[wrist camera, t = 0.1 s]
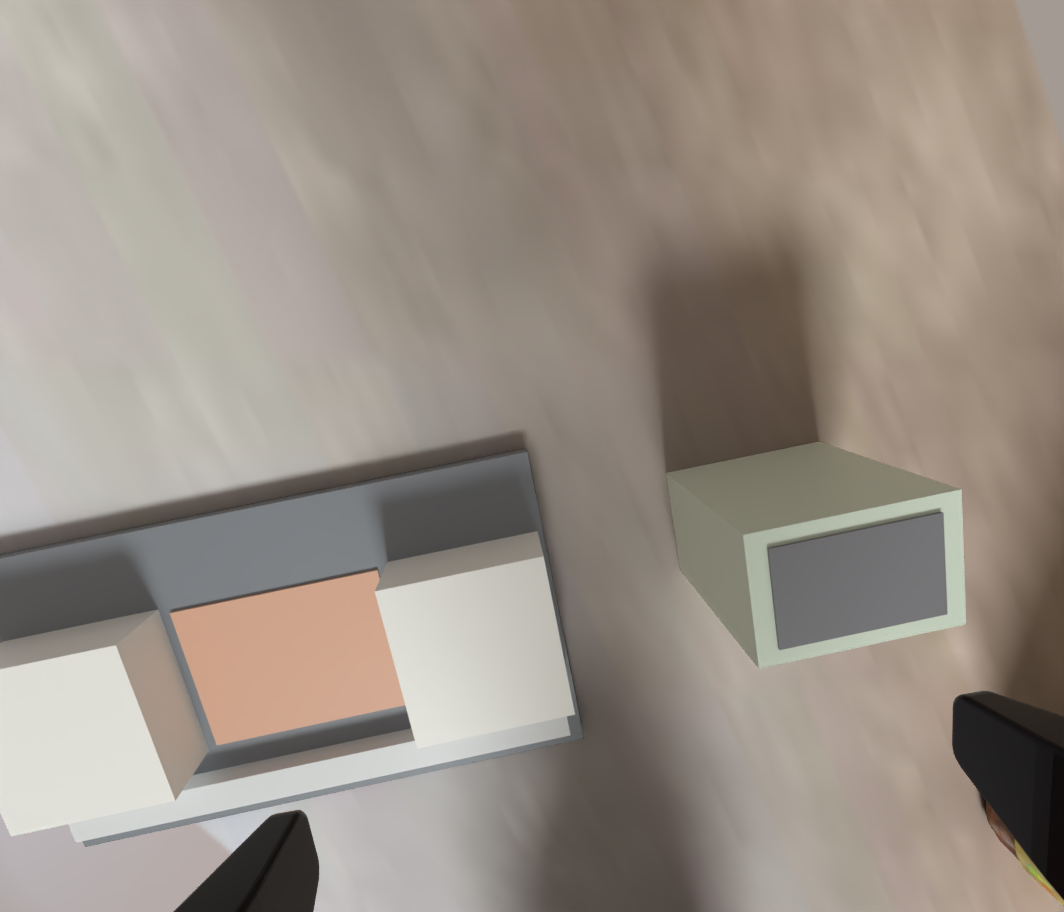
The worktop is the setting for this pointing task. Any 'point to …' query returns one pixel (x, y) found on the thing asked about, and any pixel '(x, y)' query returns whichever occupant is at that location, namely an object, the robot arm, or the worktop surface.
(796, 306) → the worktop surface
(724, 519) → the block
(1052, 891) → the sauce bottle
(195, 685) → the rail board
